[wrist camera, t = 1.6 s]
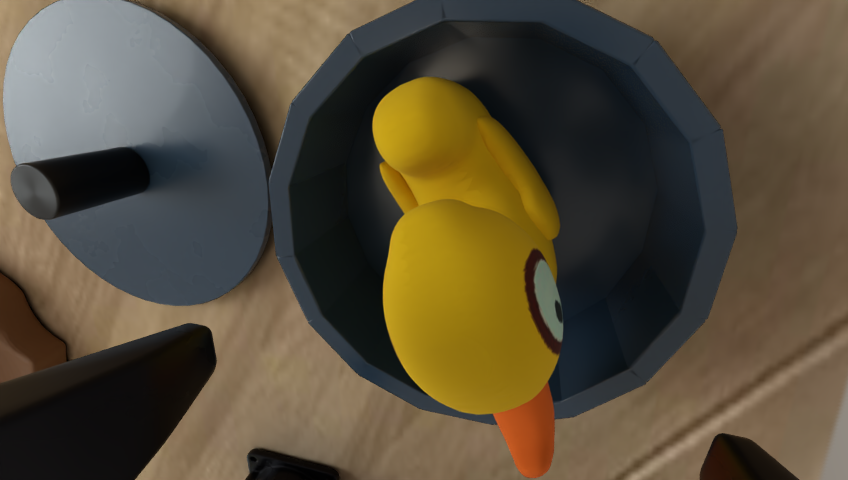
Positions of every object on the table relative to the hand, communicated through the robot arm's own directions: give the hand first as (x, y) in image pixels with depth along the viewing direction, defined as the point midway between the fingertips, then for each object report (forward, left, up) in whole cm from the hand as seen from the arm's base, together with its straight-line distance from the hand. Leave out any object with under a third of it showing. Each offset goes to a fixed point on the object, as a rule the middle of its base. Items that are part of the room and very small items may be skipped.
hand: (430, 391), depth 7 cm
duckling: (0, 0, -12) cm, 12 cm away
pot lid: (-18, 0, -12) cm, 21 cm away
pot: (0, 0, -12) cm, 12 cm away
